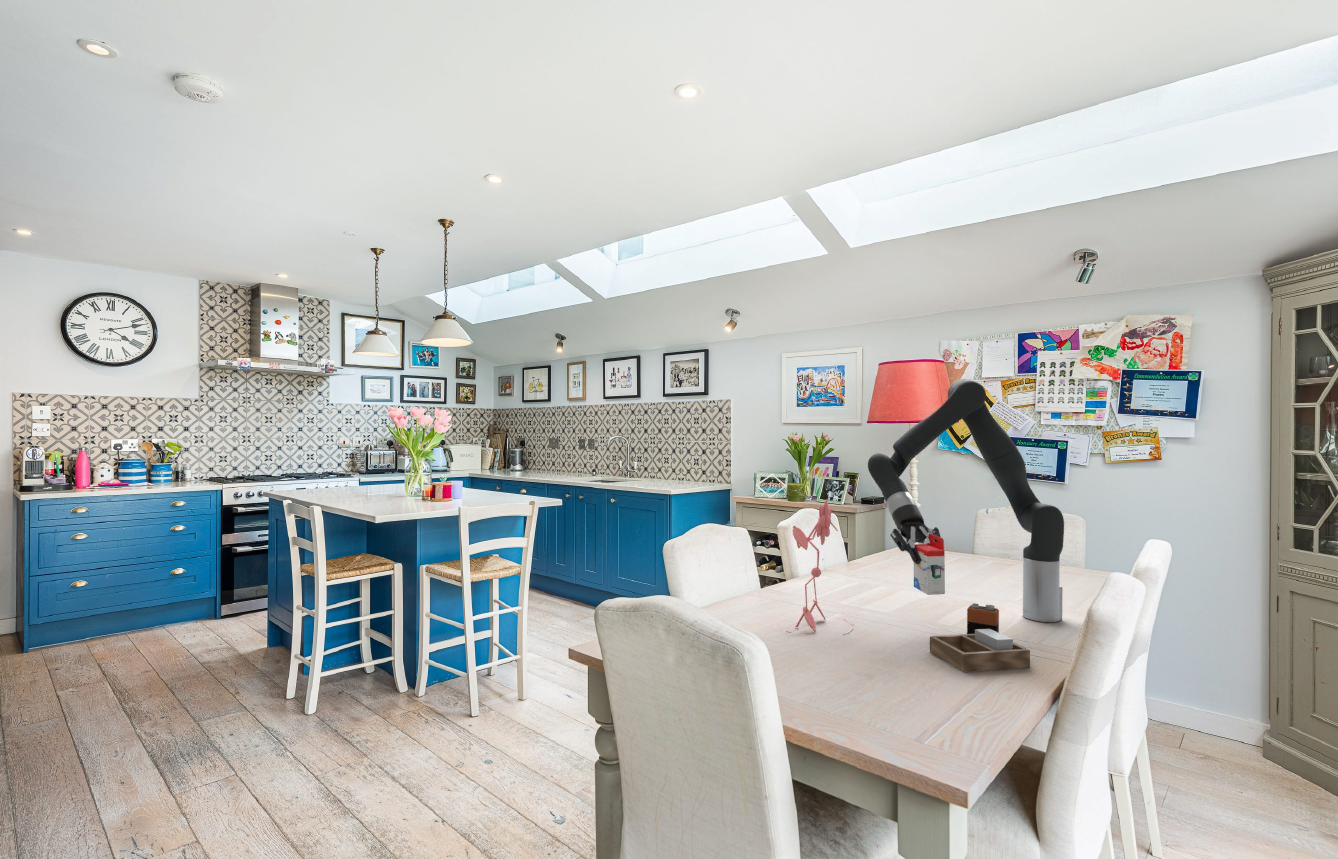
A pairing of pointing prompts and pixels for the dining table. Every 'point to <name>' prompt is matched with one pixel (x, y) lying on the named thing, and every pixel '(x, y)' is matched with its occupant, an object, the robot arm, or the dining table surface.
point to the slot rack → (977, 654)
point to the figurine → (802, 540)
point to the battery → (982, 618)
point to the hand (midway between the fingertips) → (928, 561)
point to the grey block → (993, 639)
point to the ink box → (930, 567)
